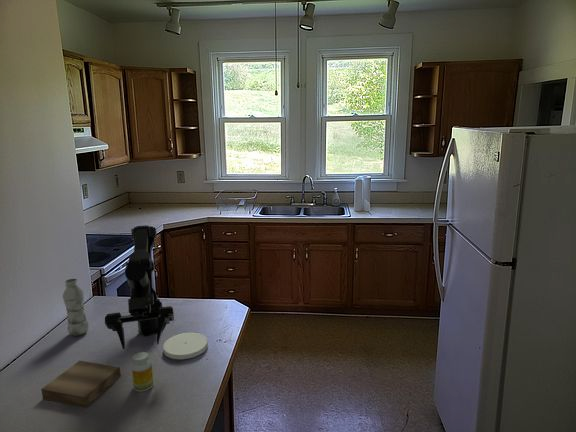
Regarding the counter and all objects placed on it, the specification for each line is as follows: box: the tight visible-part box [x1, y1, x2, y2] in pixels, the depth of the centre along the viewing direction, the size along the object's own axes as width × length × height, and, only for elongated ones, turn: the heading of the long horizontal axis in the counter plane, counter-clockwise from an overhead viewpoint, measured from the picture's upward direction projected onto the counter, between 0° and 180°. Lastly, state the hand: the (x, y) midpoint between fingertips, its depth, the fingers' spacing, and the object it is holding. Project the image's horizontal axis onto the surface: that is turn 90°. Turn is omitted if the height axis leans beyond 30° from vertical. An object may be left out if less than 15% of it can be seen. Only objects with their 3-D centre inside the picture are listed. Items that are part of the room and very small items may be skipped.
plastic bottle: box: [62, 278, 89, 337], centre depth 144 cm, size 6×7×20 cm
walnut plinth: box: [41, 360, 121, 408], centre depth 116 cm, size 14×14×3 cm
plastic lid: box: [162, 332, 209, 360], centre depth 134 cm, size 14×14×2 cm
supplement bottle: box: [130, 351, 154, 393], centre depth 115 cm, size 5×5×10 cm
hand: (140, 346), depth 117 cm, fingers open, 9 cm apart
